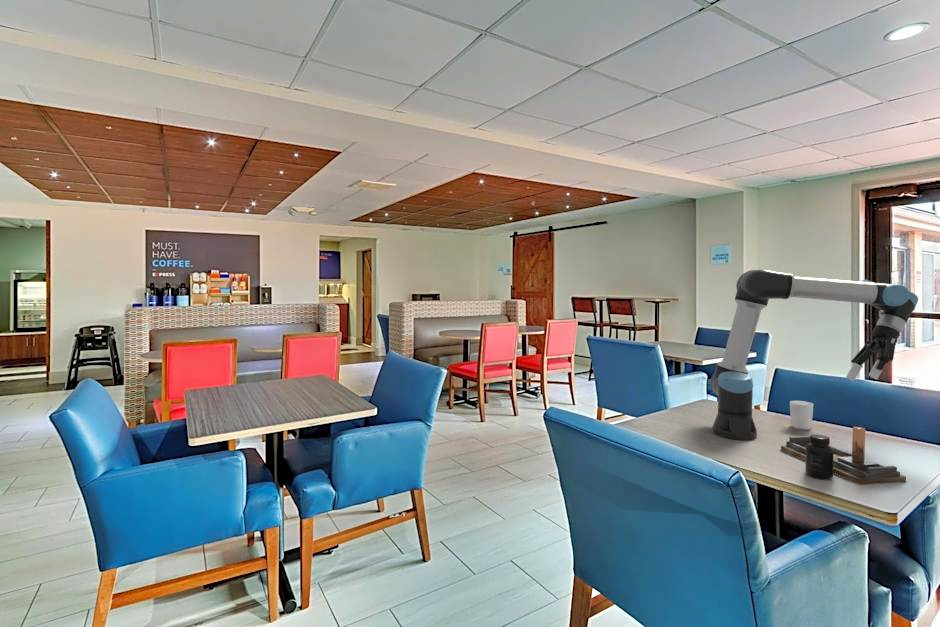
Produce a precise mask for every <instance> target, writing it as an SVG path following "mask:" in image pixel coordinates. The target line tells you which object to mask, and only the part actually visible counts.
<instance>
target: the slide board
mask: <svg viewBox="0 0 940 627" xmlns="http://www.w3.org/2000/svg"><path fill="white" fill-rule="evenodd" d="M809 443H811V442H810V435H806V436H805V435H803V436H789V439H788V440H786V443H785V444H786V445H781V446H780V451H783V452H784V451H785V453H786V454H789V455H791V454H792V455H791V456H793V455H794V456H793V457H796V456H797V458H798V457H799V459H800V458H801V459H800V460H802V459H803V461H805V460H806V445H807V444H809ZM829 446H830V447H832V449H833V451H834V457H833V474H834V473H836V474H838V475H837V476H839V475H840V476H839V477H841V476H842V477H841V478H843V477H844V478H843V479H845V480H848V481H850V480H851V481H850V482H852V481H853V483H855V484H857V485H874V484H876V483H877V484H889V483H890V484H891V483H893V484H894V483H905V482H906V483H907V477H906V475H902V474H901V471H898V466H895V465H882V464H880V463H878V464H879V467H866V471H865V472H863V471H861V470H859V469H856V468H854V467H851V466H849V465H846V464H844V463H841V462H839V461H838V457H850V456H852V452H848V451H845V450H843V449H840V448H837V447H835V446H832V445H831V444H829ZM836 474H835V475H836Z"/></svg>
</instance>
